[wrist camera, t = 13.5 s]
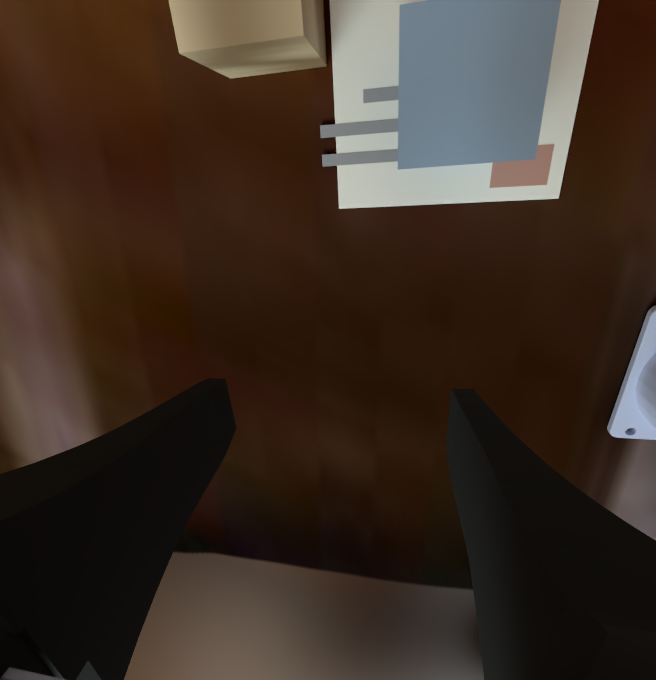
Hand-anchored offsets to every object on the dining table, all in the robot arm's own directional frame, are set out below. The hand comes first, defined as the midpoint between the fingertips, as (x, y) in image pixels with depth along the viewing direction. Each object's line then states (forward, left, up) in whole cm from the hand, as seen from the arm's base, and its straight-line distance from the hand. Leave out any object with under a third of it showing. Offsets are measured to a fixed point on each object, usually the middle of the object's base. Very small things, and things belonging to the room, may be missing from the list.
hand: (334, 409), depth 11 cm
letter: (-4, -9, -10) cm, 14 cm away
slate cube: (-4, -9, -10) cm, 14 cm away
